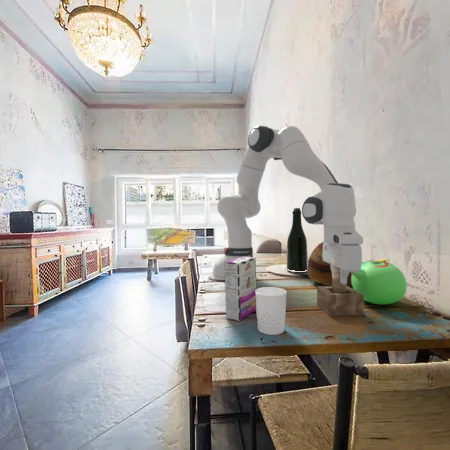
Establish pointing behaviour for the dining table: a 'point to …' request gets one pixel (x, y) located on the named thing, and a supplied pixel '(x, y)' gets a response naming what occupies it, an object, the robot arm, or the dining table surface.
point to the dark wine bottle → (297, 245)
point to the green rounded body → (379, 282)
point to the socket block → (339, 301)
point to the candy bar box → (240, 287)
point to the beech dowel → (337, 280)
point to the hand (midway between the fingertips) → (339, 281)
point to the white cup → (271, 310)
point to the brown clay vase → (321, 268)
